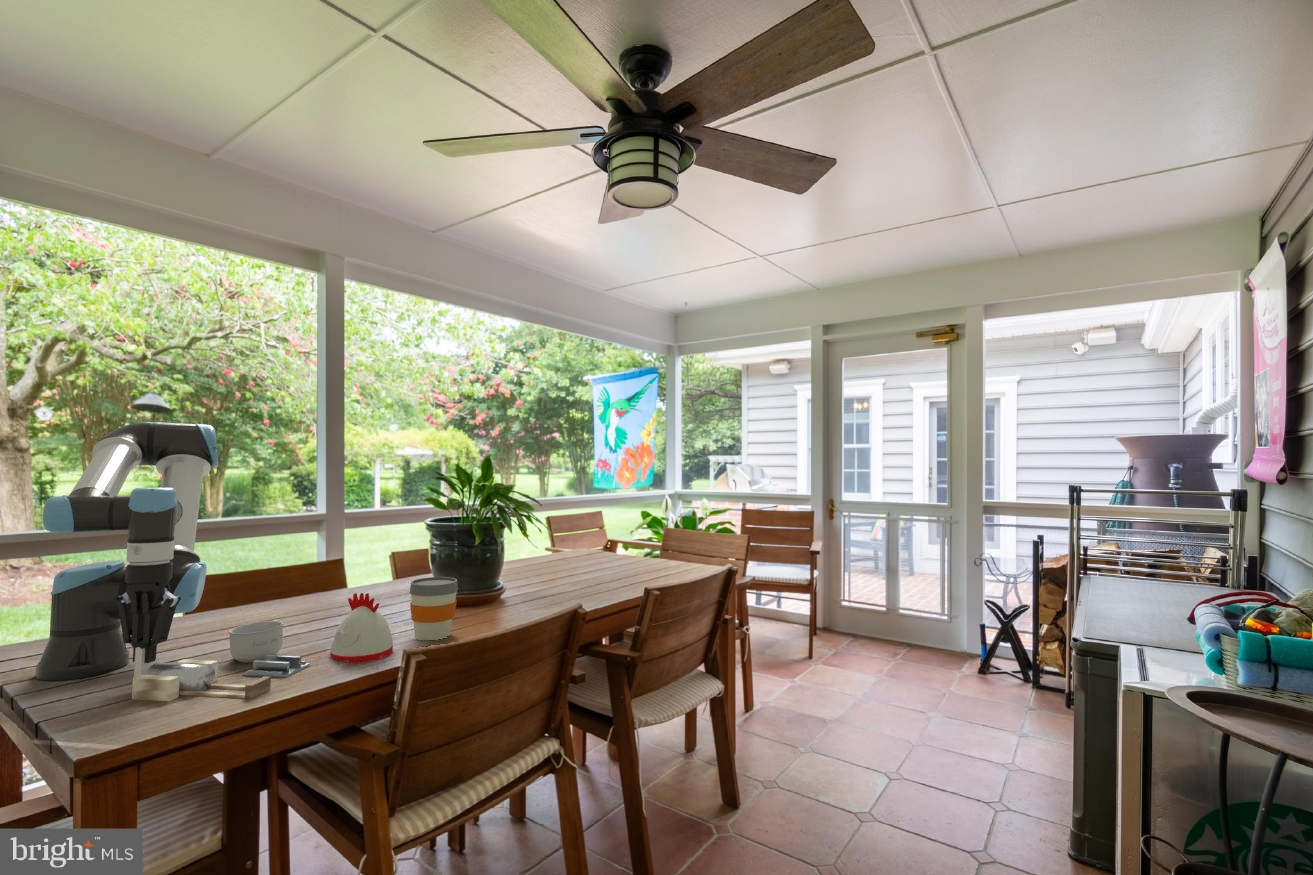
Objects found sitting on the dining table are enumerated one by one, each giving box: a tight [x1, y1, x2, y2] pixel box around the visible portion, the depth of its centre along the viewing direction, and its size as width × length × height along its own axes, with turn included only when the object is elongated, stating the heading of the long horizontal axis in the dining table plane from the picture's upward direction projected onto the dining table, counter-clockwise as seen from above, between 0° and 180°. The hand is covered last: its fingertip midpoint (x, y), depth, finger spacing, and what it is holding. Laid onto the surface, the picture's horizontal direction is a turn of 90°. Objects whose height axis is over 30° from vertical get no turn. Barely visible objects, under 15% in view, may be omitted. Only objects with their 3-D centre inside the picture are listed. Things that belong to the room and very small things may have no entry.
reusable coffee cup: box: [409, 576, 459, 642], centre depth 165 cm, size 13×13×15 cm
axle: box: [145, 661, 215, 691], centre depth 123 cm, size 11×5×5 cm, turn 85°
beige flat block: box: [131, 658, 272, 702], centre depth 122 cm, size 22×12×4 cm, turn 85°
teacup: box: [228, 619, 284, 664], centre depth 145 cm, size 14×11×8 cm
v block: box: [242, 654, 311, 679], centre depth 135 cm, size 10×8×3 cm
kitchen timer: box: [329, 592, 394, 664], centre depth 149 cm, size 14×14×15 cm
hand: (143, 678), depth 123 cm, fingers closed
